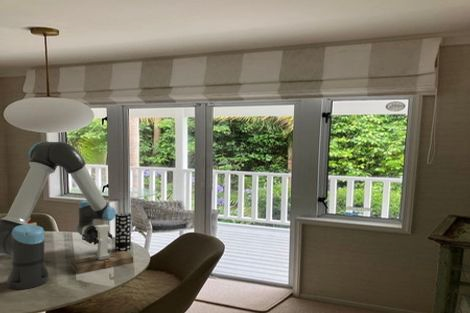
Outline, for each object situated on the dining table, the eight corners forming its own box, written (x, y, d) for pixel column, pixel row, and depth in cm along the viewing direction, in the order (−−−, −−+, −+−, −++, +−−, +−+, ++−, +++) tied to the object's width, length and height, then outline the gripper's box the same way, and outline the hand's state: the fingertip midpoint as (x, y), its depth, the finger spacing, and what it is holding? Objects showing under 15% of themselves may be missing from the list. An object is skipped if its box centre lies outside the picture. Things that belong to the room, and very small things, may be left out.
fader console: (77, 274, 156) (77, 266, 156) (70, 266, 166) (70, 259, 166) (133, 262, 172) (133, 256, 172) (123, 256, 182) (124, 250, 182)
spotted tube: (111, 250, 192) (112, 214, 192) (123, 246, 200) (123, 212, 199) (122, 252, 188) (123, 216, 188) (133, 249, 196) (134, 213, 195)
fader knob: (99, 260, 165) (99, 227, 165) (95, 256, 170) (95, 225, 170) (109, 258, 168) (110, 226, 168) (105, 255, 173) (105, 224, 173)
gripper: (107, 237, 188) (123, 247, 170) (74, 242, 178) (88, 253, 160) (107, 223, 188) (123, 232, 170) (74, 227, 178) (88, 237, 159)
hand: (106, 242), depth 165 cm, fingers closed on fader knob, 4 cm apart
